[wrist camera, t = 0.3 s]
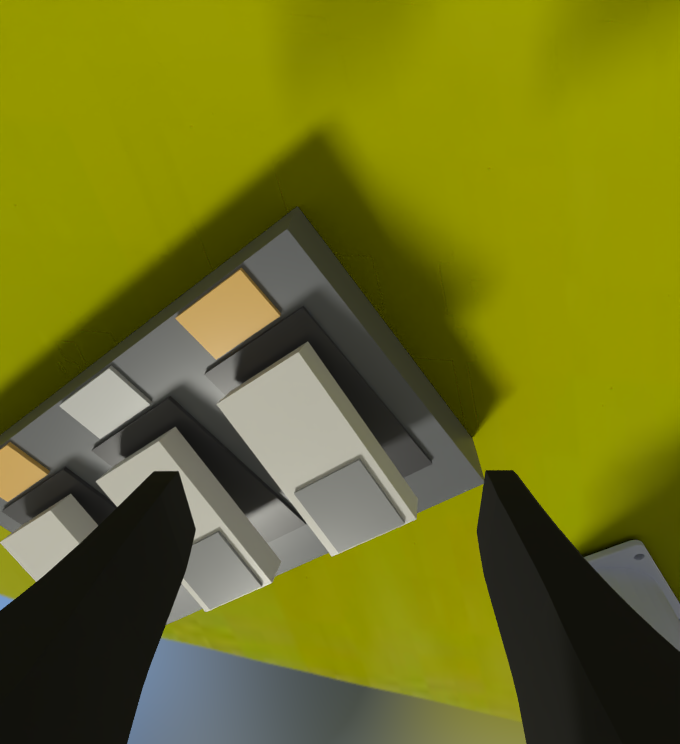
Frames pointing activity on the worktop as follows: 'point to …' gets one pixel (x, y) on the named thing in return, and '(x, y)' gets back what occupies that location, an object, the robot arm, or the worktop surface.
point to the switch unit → (226, 372)
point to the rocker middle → (202, 522)
